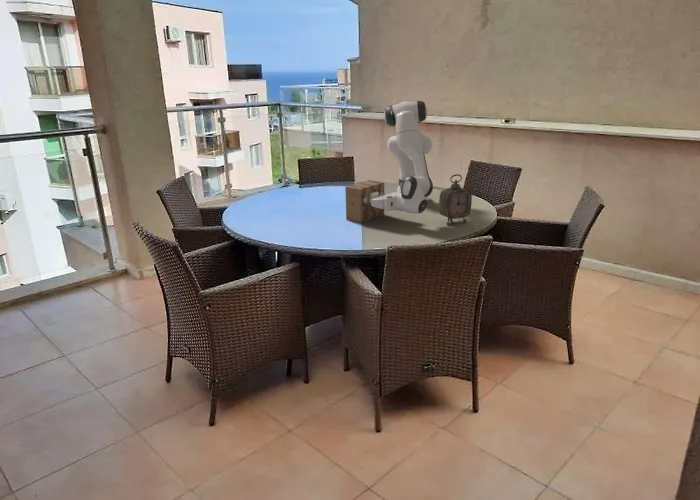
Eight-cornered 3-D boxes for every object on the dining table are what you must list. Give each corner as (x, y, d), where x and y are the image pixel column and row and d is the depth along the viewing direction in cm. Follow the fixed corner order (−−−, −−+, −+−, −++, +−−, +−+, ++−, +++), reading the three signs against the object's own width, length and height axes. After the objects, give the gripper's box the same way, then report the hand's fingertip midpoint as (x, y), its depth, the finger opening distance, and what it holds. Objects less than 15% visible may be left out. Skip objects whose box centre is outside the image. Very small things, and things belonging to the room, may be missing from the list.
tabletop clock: (446, 227, 242) (449, 177, 233) (436, 222, 249) (438, 174, 241) (470, 222, 247) (473, 174, 239) (459, 218, 255) (462, 171, 246)
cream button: (371, 199, 258) (371, 190, 256) (378, 201, 255) (378, 191, 253) (365, 201, 254) (365, 192, 252) (372, 203, 251) (372, 193, 250)
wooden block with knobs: (370, 211, 271) (369, 179, 265) (386, 215, 264) (386, 182, 257) (346, 219, 257) (345, 186, 251) (362, 223, 250) (362, 189, 243)
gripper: (409, 191, 250) (387, 187, 258) (384, 199, 235) (363, 195, 244) (408, 203, 252) (387, 199, 260) (384, 211, 237) (363, 207, 246)
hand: (375, 197), depth 252 cm, fingers closed
